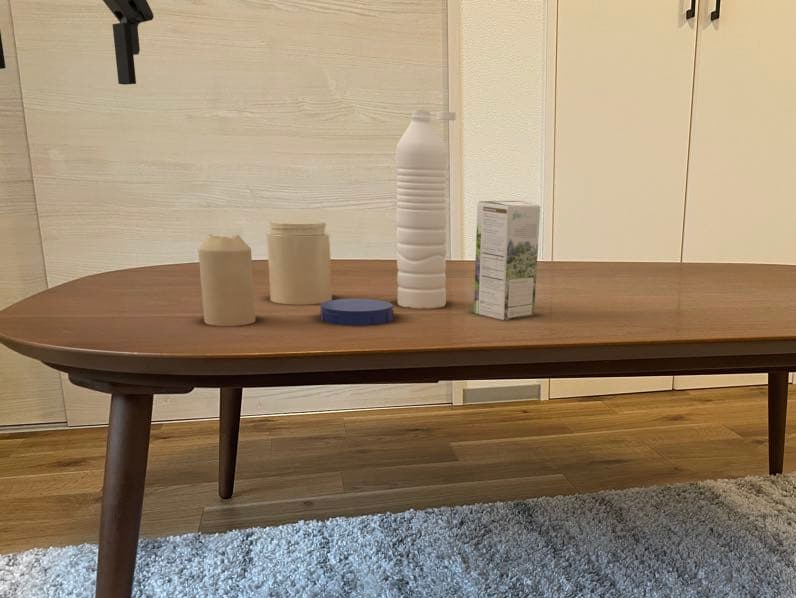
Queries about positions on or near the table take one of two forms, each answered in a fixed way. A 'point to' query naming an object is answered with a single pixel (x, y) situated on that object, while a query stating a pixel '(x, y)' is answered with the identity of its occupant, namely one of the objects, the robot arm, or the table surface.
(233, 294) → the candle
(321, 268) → the jar
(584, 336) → the table surface
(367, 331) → the table surface
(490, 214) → the syrup box
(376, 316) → the lid
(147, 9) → the robot arm
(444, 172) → the water bottle
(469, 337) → the table surface
